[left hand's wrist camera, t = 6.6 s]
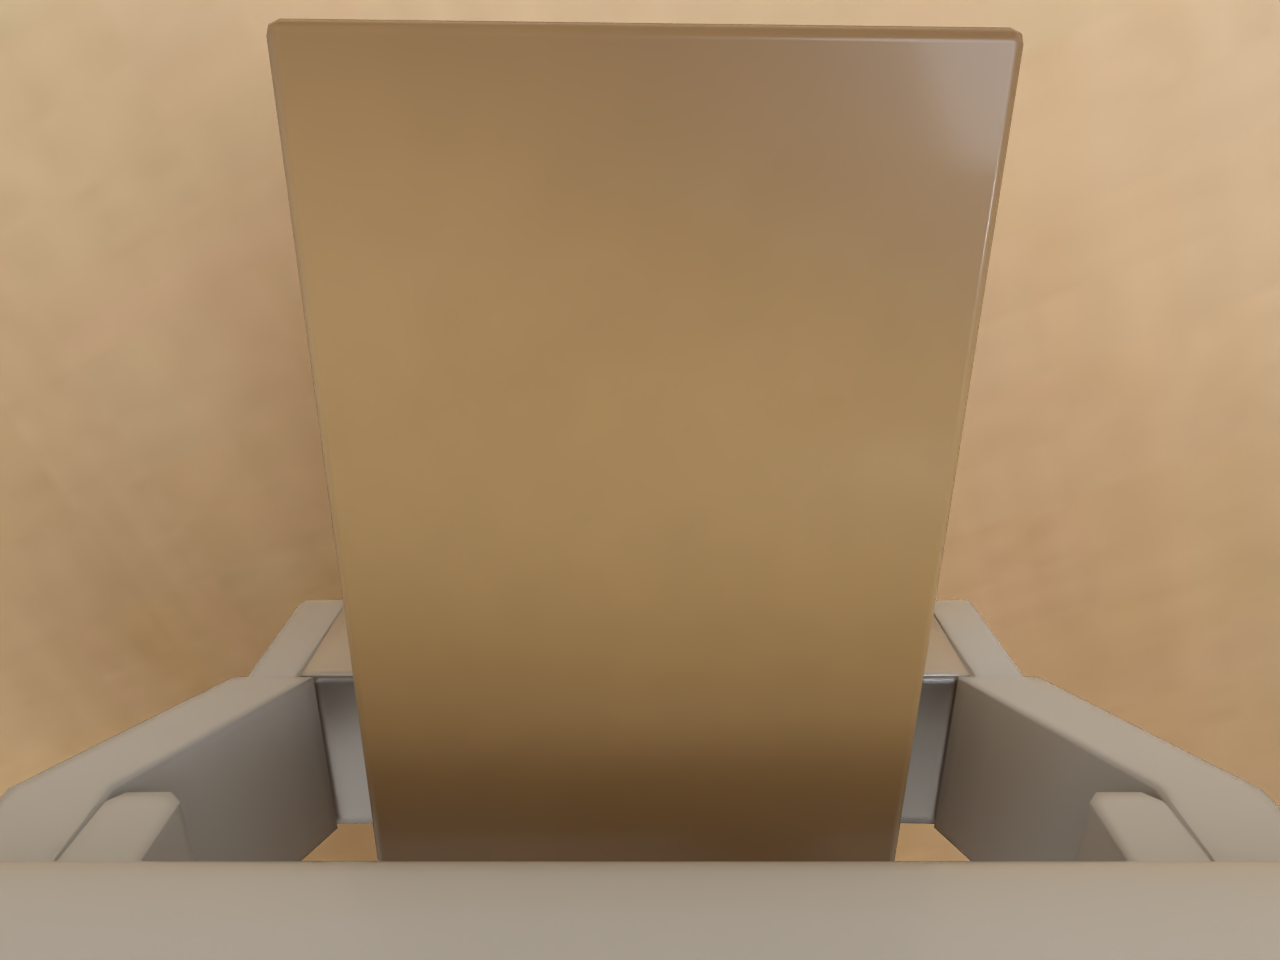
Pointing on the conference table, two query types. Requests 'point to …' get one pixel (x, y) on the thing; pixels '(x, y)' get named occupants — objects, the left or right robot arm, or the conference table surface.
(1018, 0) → the conference table surface
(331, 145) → the beam
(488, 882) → the left robot arm
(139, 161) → the conference table surface
